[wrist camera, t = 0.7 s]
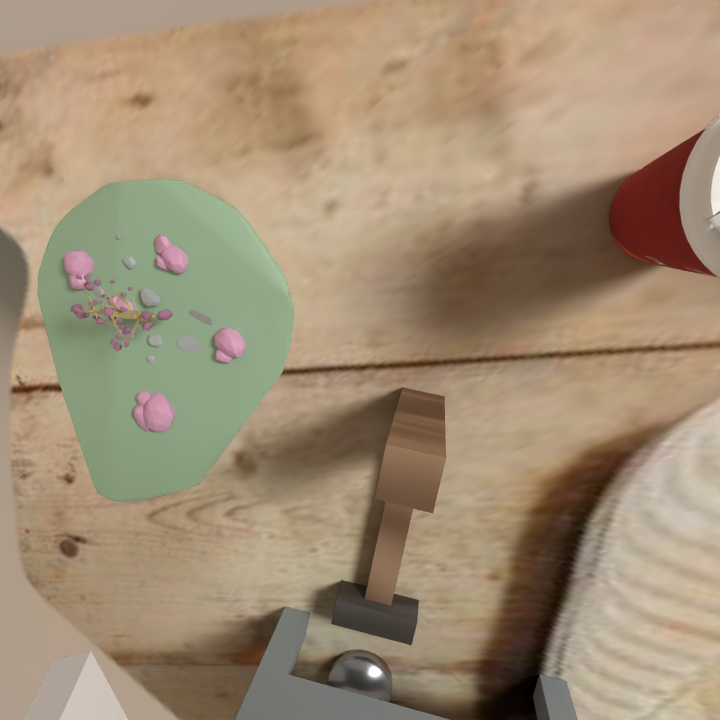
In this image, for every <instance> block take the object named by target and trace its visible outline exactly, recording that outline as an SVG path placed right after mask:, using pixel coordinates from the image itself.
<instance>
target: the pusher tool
mask: <svg viewBox="0 0 720 720" xmlns="http://www.w3.org/2000/svg"><path fill="white" fill-rule="evenodd" d="M445 459H446V441H445V398H444V396H439V395H435V394H430V393H426V392H421V391H416V390H412V389H407V388H402V391H401V394H400V398H399V401H398V405H397V408H396V412H395V415H394V418H393V422H392V425H391V429H390V432H389V435H388V439H387V442H386V446H385V451H384V456H383V461H382V466H381V470H380V475H379V480H378V485H377V490H376V494H375V499H376V500H381V501H385V506H384V510H383V515H382V520H381V525H380V529H379V534H378V539H377V543H376V548H375V553H374V557H373V562H372V567H371V572H370V576H369V581H368V586H367V587H366V586H362V585H358V584H354V583H350V582H346V581H343V580H342V582H341V586H340V589H339V592H338V595H337V599H336V603H335V608H334V613H333V618H332V623H331V624H334V625H338V626H341V627H345V628H349V629H353V630H356V631H360V632H364V633H368V634H371V635H375V636H379V637H383V638H386V639H390V640H394V641H398V642H401V643H405V644H409V645H412V641H413V637H414V633H415V629H416V624H417V617H418V602H419V600H416V599H412V598H408V597H405V596H401V595H397V594H394V591H395V586H396V582H397V577H398V573H399V568H400V564H401V560H402V555H403V551H404V546H405V542H406V537H407V533H408V528H409V524H410V520H411V515H412V511H413V508H414V509H418V510H422V511H426V512H430V513H433V511H434V507H435V502H436V498H437V494H438V489H439V485H440V481H441V477H442V472H443V468H444V464H445Z"/></svg>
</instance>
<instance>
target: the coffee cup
mask: <svg viewBox="0 0 720 720" xmlns="http://www.w3.org/2000/svg"><path fill="white" fill-rule="evenodd" d="M610 228H611V232H612V234H613V237H614V239H615V241H616V242H617V244H618V245H619V246H620V247H621V248H622V249H623V250H624V251H625V252H626V253H627V254H629V255H630V256H632V257H634V258H636V259H639V260H641V261H644V262H648V263H652V264H656V265H660V266H665V267H670V268H675V269H680V270H684V271H689V272H695V273H700V274H705V275H710V276H715V277H719V278H720V114H719V115H718V116H717V117H716V118H715V119H714V120H713V121H712V122H711V123H710V124H709V125H708V126H707V128H706V129H704V130H702V131H701V132H699V133H697V134H696V135H694V136H693V137H691V138H689V139H688V140H686V141H685V142H683V143H681V144H680V145H678V146H676V147H675V148H673V149H672V150H670V151H668V152H667V153H665V154H664V155H662V156H661V157H659V158H657V159H656V160H654V161H653V162H651V163H650V164H648V165H647V166H645V167H643V168H642V169H641V170H639V171H638V172H636V173H635V174H634V175H632V176H631V177H630V178H629V179H628V180H627V181H626V182H625V183H624V184H623V185H622V186H621V188H620V189H619V190H618V192H617V194H616V195H615V197H614V200H613V202H612V205H611V210H610Z"/></svg>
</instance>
